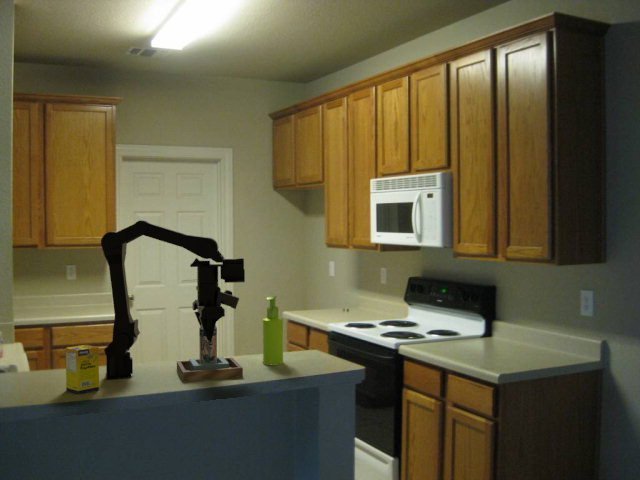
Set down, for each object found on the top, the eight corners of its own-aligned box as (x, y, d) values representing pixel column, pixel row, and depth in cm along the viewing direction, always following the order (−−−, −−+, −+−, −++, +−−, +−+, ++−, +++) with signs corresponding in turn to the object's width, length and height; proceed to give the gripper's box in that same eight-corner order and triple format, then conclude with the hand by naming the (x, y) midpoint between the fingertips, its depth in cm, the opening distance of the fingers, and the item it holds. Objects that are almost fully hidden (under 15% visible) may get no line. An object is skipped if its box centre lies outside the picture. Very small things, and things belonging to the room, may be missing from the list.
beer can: (200, 369, 187) (200, 326, 187) (198, 366, 192) (198, 323, 191) (218, 368, 188) (217, 325, 188) (215, 365, 193) (215, 322, 193)
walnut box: (183, 381, 181) (182, 372, 180) (176, 370, 195) (176, 361, 195) (242, 377, 185) (242, 367, 185) (232, 365, 200) (232, 357, 200)
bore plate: (193, 377, 184) (193, 366, 184) (189, 369, 193) (189, 359, 193) (229, 374, 187) (229, 363, 187) (223, 367, 196) (223, 356, 196)
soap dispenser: (260, 365, 200) (259, 297, 200) (266, 360, 207) (265, 294, 206) (279, 366, 199) (278, 297, 198) (285, 361, 206) (284, 295, 205)
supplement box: (99, 389, 173) (99, 346, 172) (77, 394, 168) (77, 350, 168) (87, 386, 177) (86, 344, 176) (65, 390, 172) (64, 347, 172)
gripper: (243, 285, 183) (243, 343, 183) (230, 279, 201) (230, 332, 201) (201, 286, 180) (201, 345, 180) (192, 280, 197) (192, 334, 198)
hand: (208, 339), depth 190 cm, fingers closed on beer can, 5 cm apart
